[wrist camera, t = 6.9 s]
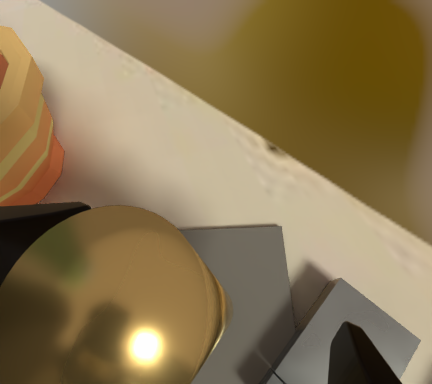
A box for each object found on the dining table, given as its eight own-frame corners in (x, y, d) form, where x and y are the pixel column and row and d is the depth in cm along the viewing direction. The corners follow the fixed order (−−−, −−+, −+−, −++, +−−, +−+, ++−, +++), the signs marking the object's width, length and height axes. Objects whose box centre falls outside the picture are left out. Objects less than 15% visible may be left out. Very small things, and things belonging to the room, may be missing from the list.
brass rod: (192, 346, 14) (-32, 521, 2) (178, 293, 15) (-12, 245, 4) (240, 326, 14) (244, 401, 3) (222, 276, 16) (172, 179, 4)
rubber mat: (119, 410, 14) (116, 413, 13) (140, 233, 18) (138, 232, 17) (305, 413, 13) (307, 416, 12) (280, 227, 17) (281, 226, 17)
